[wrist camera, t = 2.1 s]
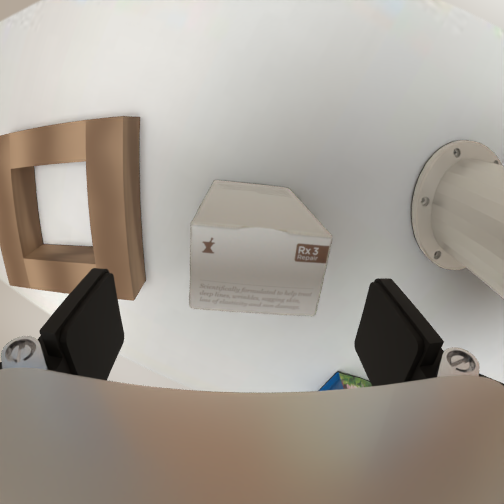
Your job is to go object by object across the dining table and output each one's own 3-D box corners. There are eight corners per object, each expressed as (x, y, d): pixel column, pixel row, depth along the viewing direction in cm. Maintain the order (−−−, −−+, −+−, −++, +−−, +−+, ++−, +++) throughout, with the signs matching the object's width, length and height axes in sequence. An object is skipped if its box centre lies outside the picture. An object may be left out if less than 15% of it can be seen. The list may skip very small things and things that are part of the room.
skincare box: (210, 230, 25) (181, 316, 14) (213, 175, 23) (182, 221, 12) (286, 237, 25) (315, 326, 14) (293, 183, 24) (335, 235, 12)
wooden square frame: (139, 117, 21) (123, 116, 18) (145, 280, 26) (134, 300, 23) (11, 134, 21) (-12, 138, 17) (28, 269, 26) (10, 285, 23)
